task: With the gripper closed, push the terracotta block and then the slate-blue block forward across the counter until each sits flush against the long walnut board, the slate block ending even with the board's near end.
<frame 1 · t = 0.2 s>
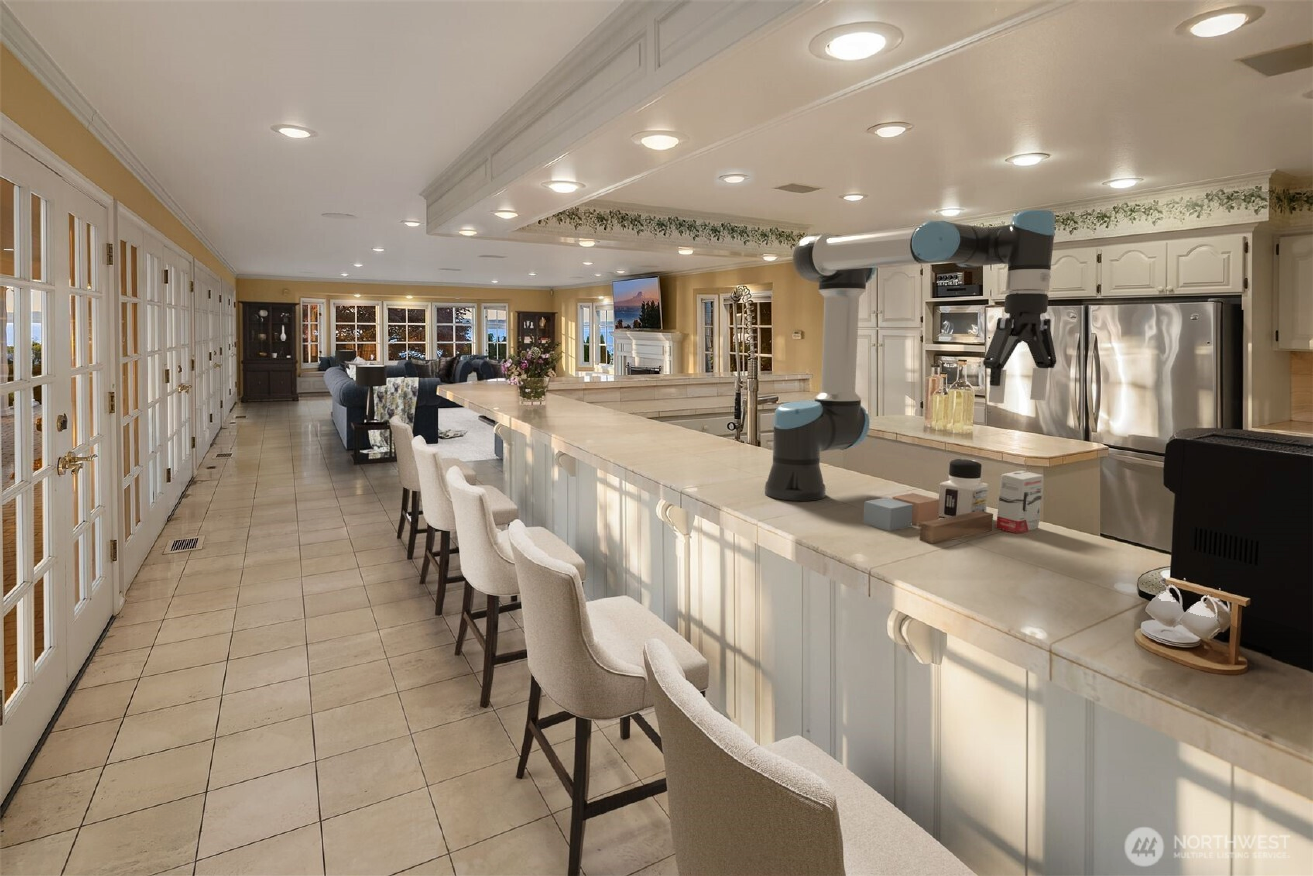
hand: (1017, 401, 141), 28 cm above the countertop, fingers open, 13 cm apart
walnut board: (956, 534, 145), on the countertop
ink box: (1017, 529, 150), on the countertop
container: (961, 517, 159), on the countertop
terracotta block: (914, 519, 157), on the countertop
slate block: (887, 525, 152), on the countertop
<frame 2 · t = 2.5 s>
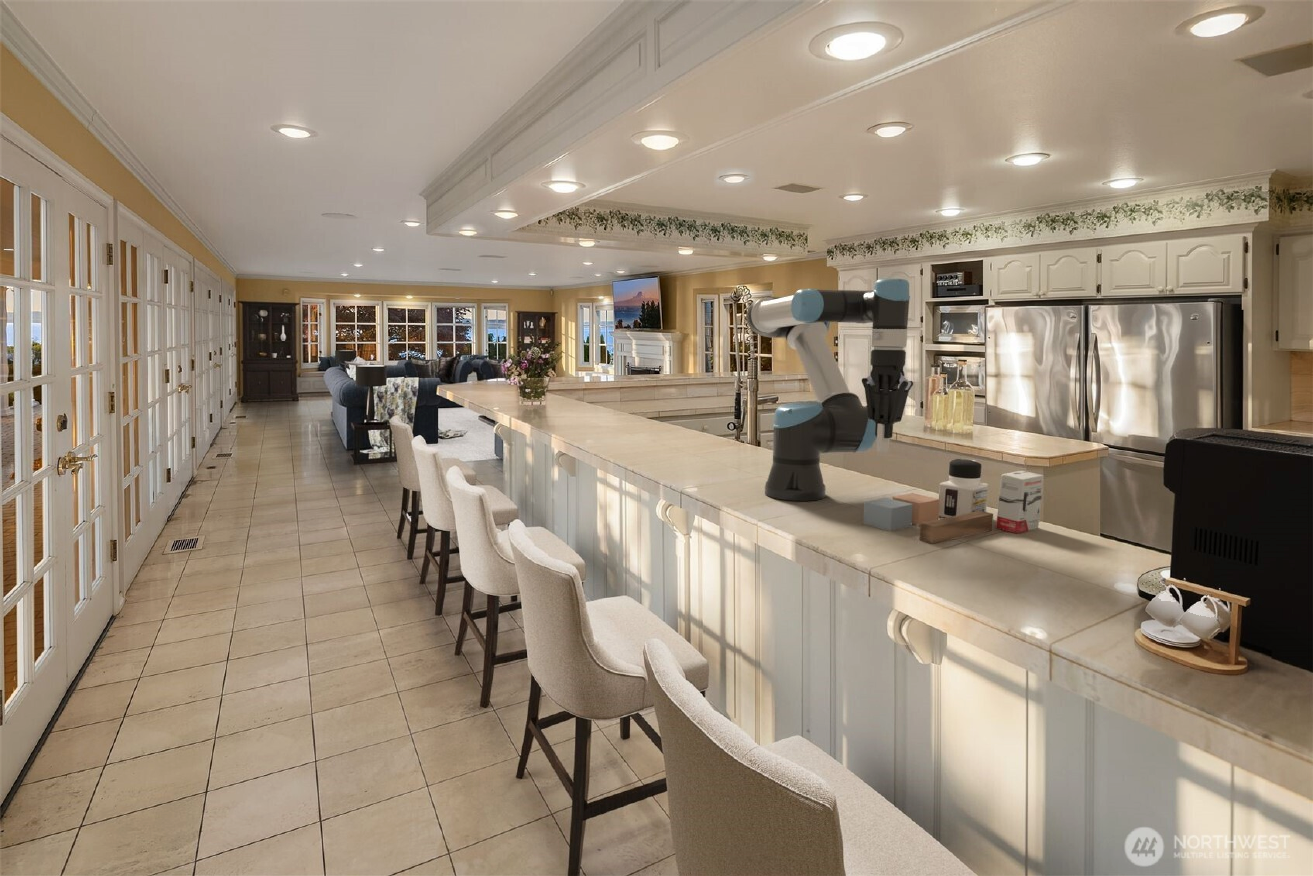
hand: (882, 451, 163), 14 cm above the countertop, fingers closed
nothing on the countertop moved.
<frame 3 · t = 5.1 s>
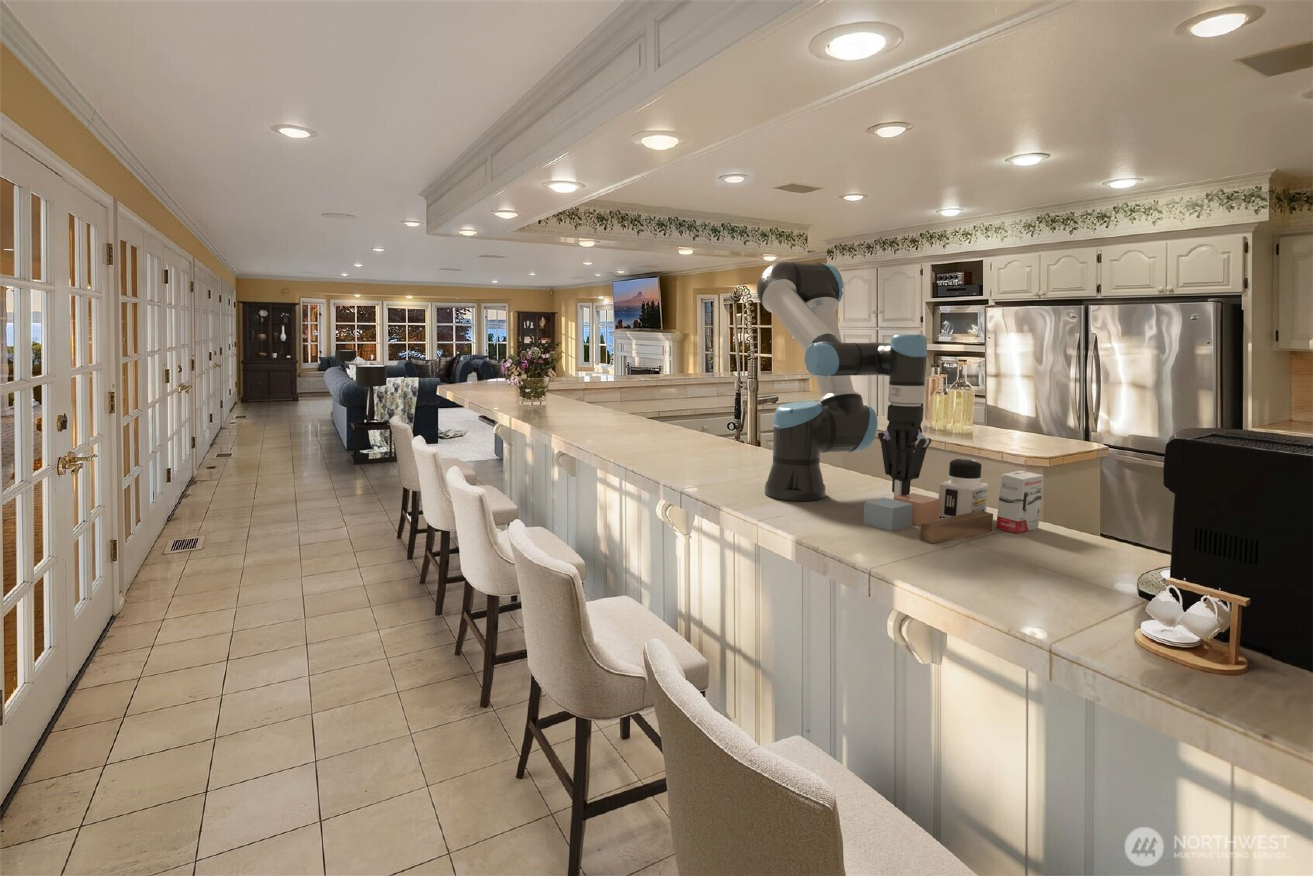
hand: (899, 507, 160), 2 cm above the countertop, fingers closed
terracotta block: (915, 519, 156), on the countertop, touching gripper
everything else where it was.
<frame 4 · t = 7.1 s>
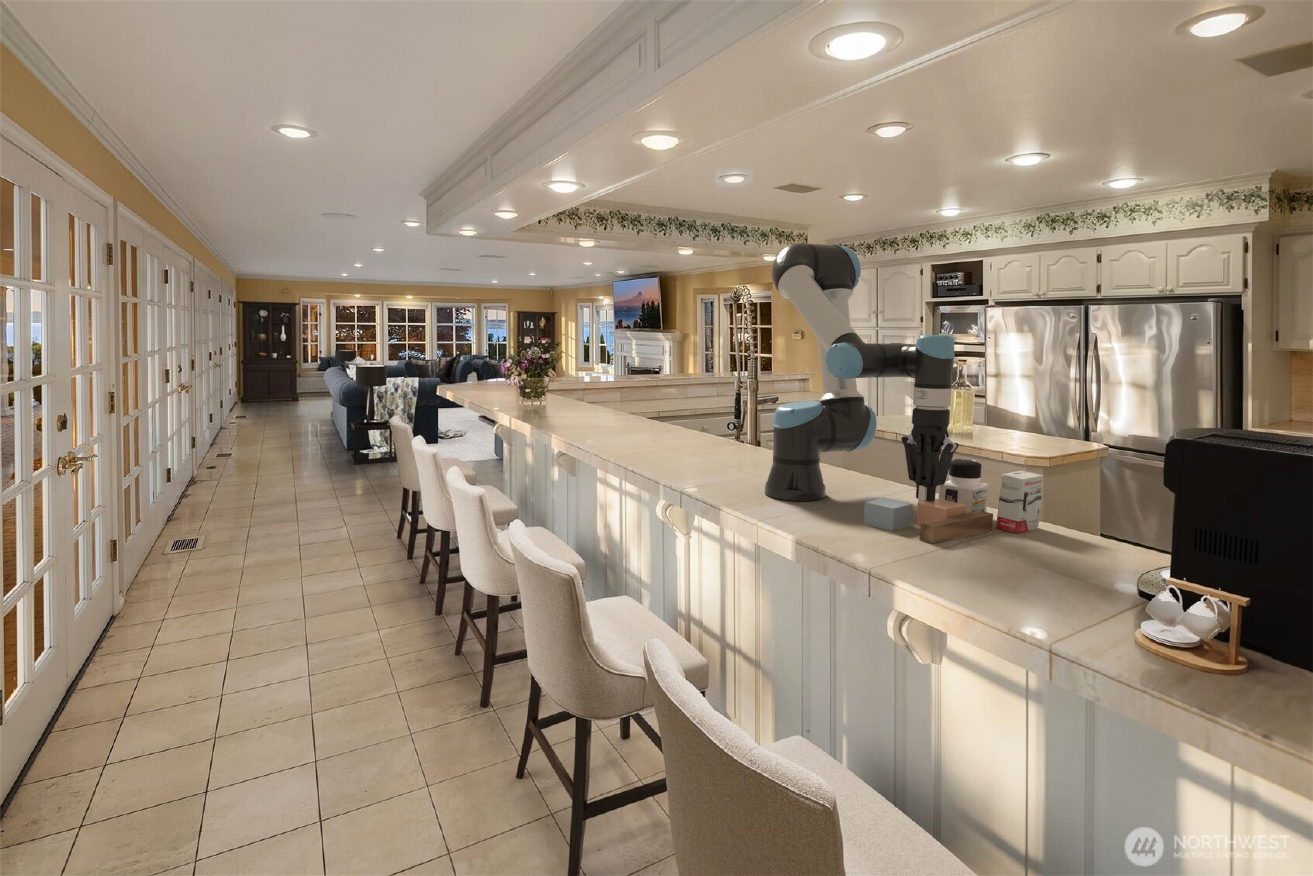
hand: (924, 514, 154), 2 cm above the countertop, fingers closed
terracotta block: (940, 526, 151), on the countertop, touching gripper
everything else where it was.
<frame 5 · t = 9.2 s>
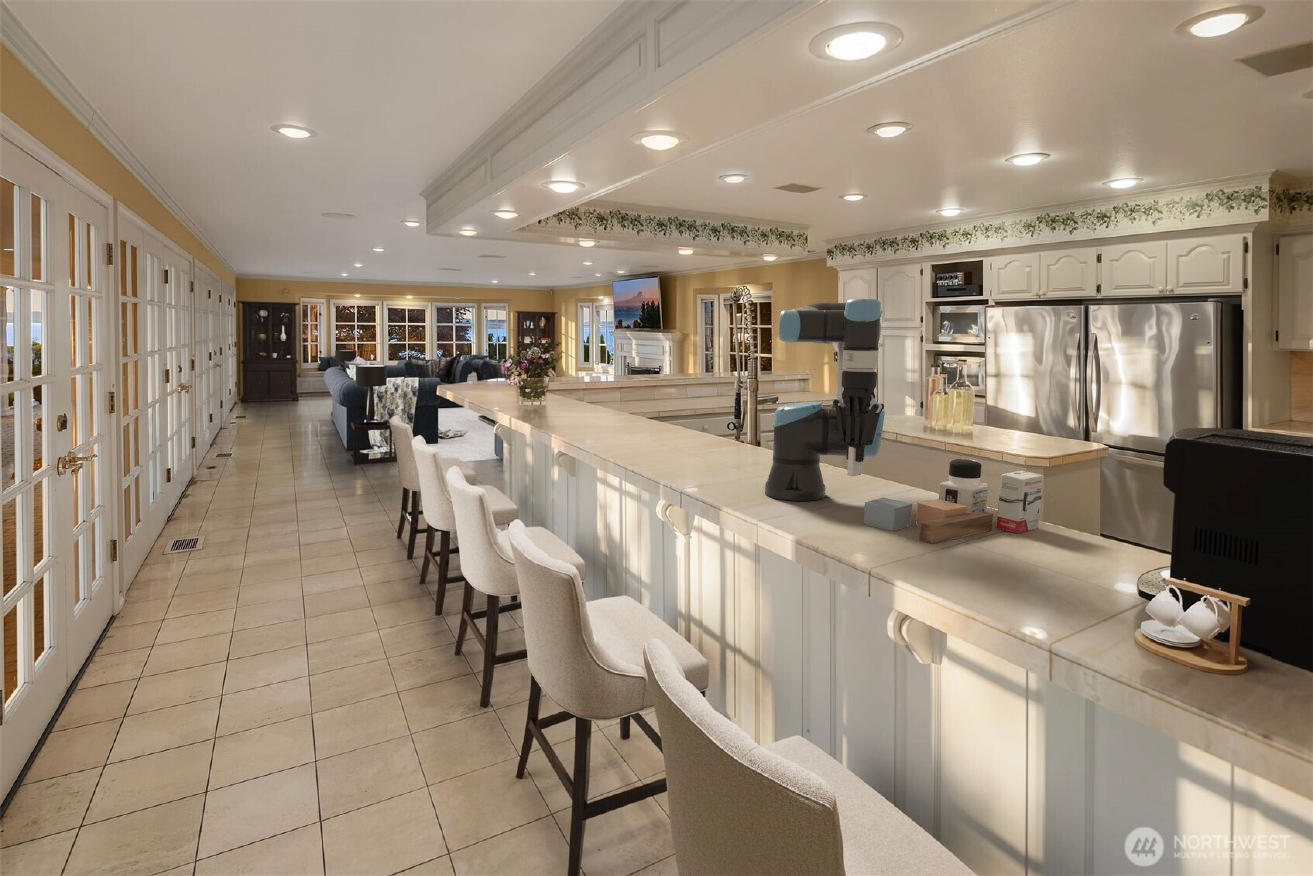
hand: (854, 475, 159), 9 cm above the countertop, fingers closed
terracotta block: (940, 527, 151), on the countertop
everything else where it was.
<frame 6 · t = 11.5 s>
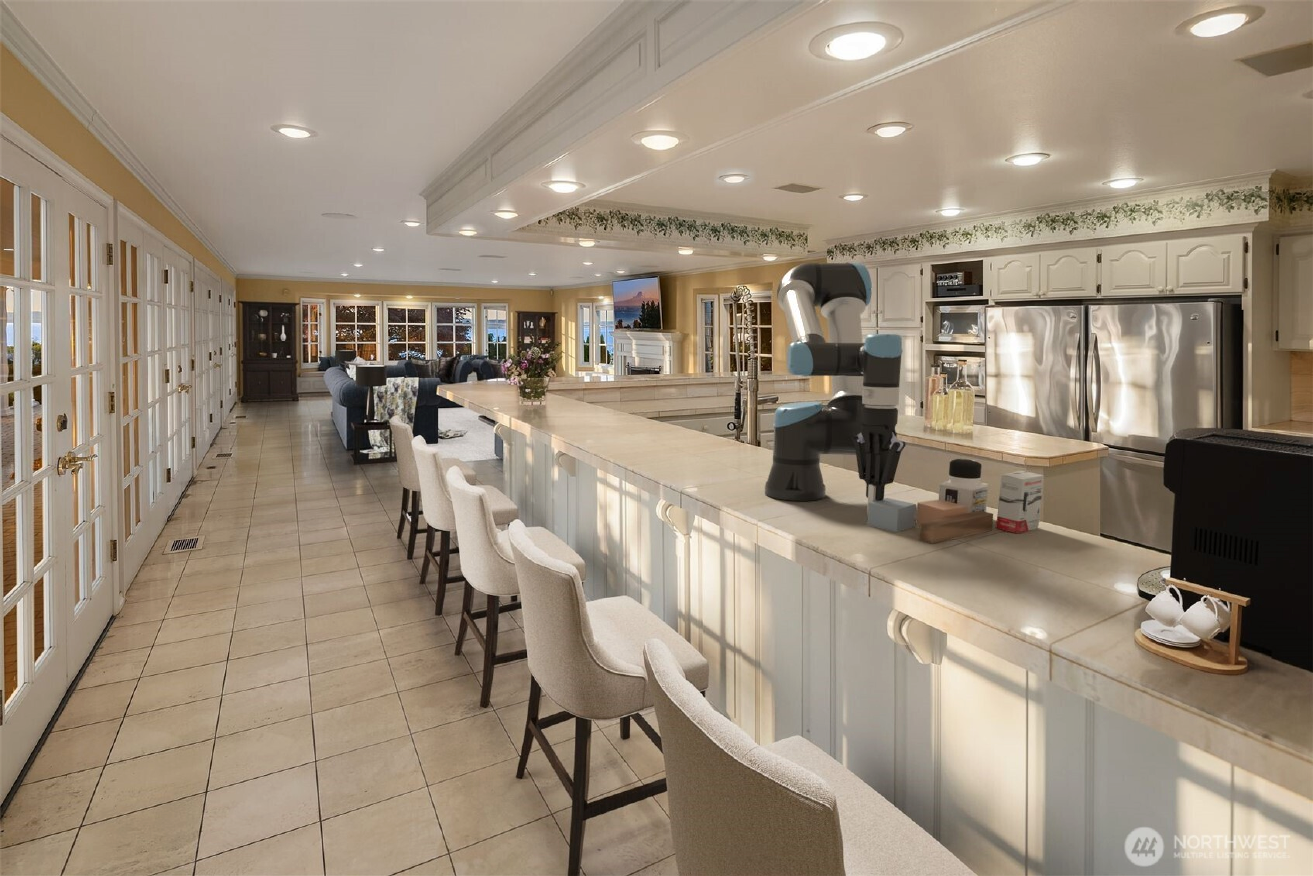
hand: (873, 513, 154), 2 cm above the countertop, fingers closed
slate block: (890, 526, 151), on the countertop, touching gripper
everything else where it was.
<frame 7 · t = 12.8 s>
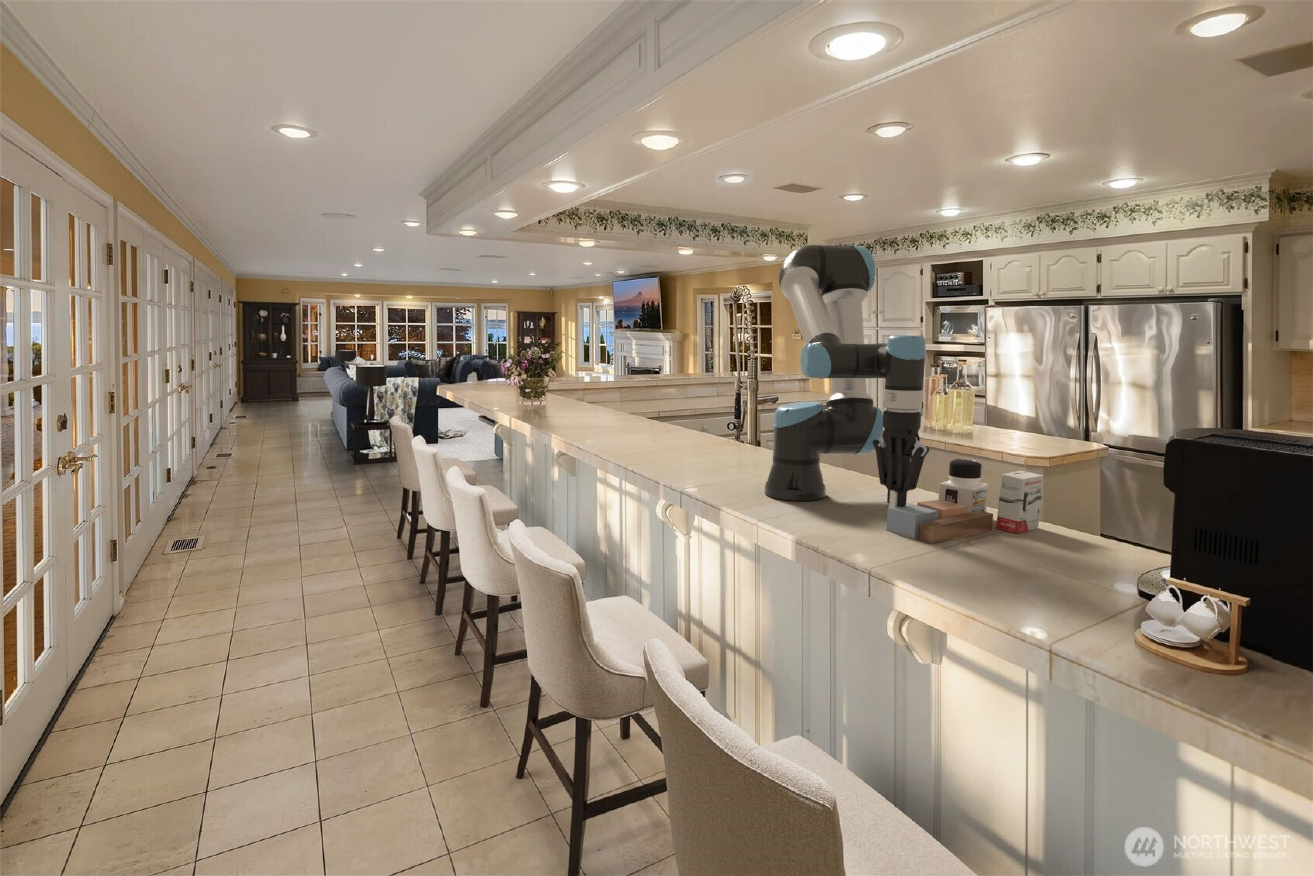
hand: (895, 520, 150), 1 cm above the countertop, fingers closed
slate block: (911, 532, 146), on the countertop, touching gripper
everything else where it was.
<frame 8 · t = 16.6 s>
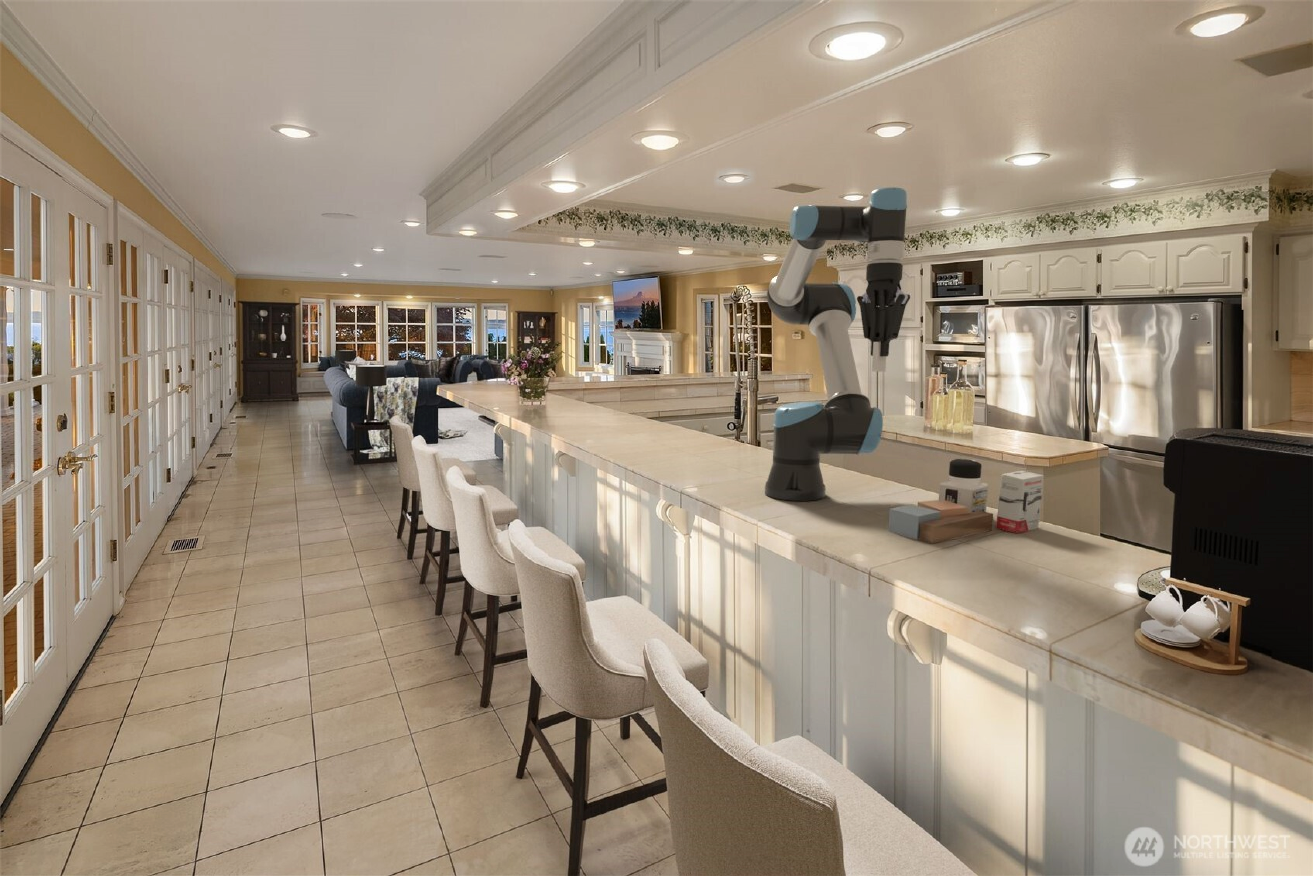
hand: (878, 371, 157), 32 cm above the countertop, fingers closed
slate block: (913, 533, 146), on the countertop
everything else where it was.
at the end: slate block 0.4 cm from the target spot on the countertop beside the walnut board, on the countertop; terracotta block 0.2 cm from the target spot on the countertop beside the walnut board, on the countertop; slate block tilted 0° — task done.
